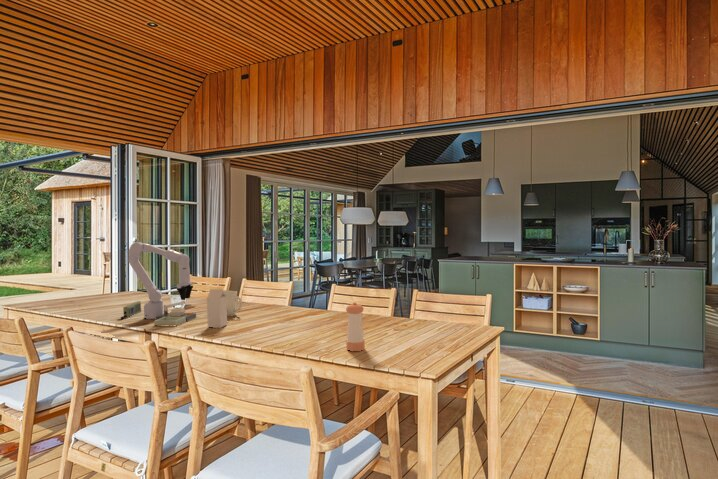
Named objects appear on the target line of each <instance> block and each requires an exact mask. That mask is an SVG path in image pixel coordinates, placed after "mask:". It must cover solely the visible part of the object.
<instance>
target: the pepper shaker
mask: <svg viewBox="0 0 718 479" xmlns="http://www.w3.org/2000/svg"><path fill="white" fill-rule="evenodd" d="M345 310H346V311H345V312H346V313H347V316H348V317H347V320H348V321H347V331H346V337H347V338H346V351H347V350H350V351H360V352H362V351H361V350H363V351H365V349H366V348H365V344H366V343H365V340H364V328H363V322H362V321H363V318H362V317H363V316H362V313H363V312H364V307H363V305H361V304H359V303H357V302H353V303H352V304H349V305H347V307H346V309H345ZM350 351H349V352H350Z"/></svg>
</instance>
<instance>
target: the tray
mask: <svg viewBox="0 0 718 479" xmlns="http://www.w3.org/2000/svg"><path fill="white" fill-rule="evenodd" d="M153 322H154V325H178V326H180V325H182V323H183V324H184V323H186V322H187V321H186V317H163V318H160V319H157V320H156V319H154V321H153ZM179 324H180V325H179Z"/></svg>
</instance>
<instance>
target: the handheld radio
mask: <svg viewBox="0 0 718 479" xmlns="http://www.w3.org/2000/svg"><path fill="white" fill-rule="evenodd" d="M141 302H142V301H140V300H139V301H138V300H137V301H135V302H132V303H130V304H128V305H126V306H123V307H122V308H123V316H121V317H120V318H124V319H126V318H125V317H129V316H131V317H133V316H135V315H137V314H139V313H141V312H142V305H141V304H142V303H141ZM134 314H135V315H134ZM132 315H133V316H132ZM129 318H130V317H129Z"/></svg>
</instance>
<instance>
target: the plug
mask: <svg viewBox="0 0 718 479" xmlns="http://www.w3.org/2000/svg"><path fill="white" fill-rule="evenodd" d="M169 313H170V314H171V316H182V315H184V313H186V309H185V307H175V308H171V309H170V312H169Z"/></svg>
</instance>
